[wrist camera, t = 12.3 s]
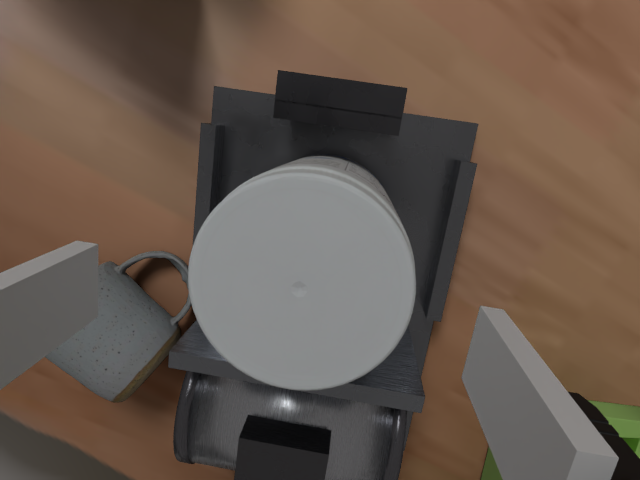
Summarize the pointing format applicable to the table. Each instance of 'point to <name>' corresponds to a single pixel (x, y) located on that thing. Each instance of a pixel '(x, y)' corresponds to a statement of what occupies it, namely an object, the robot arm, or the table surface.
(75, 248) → the robot arm
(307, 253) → the supplement tub
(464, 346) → the table surface
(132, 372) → the ceramic mug
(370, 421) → the motor clip
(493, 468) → the gearbox
